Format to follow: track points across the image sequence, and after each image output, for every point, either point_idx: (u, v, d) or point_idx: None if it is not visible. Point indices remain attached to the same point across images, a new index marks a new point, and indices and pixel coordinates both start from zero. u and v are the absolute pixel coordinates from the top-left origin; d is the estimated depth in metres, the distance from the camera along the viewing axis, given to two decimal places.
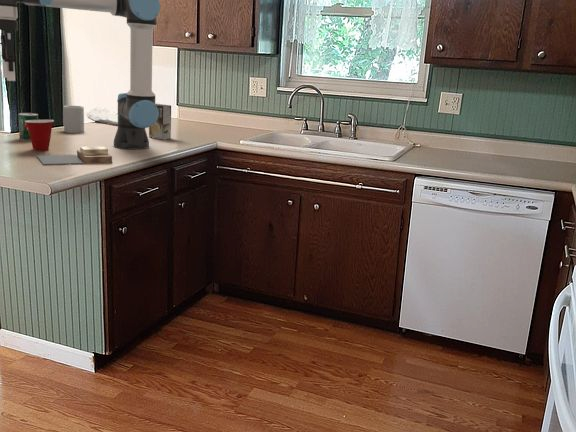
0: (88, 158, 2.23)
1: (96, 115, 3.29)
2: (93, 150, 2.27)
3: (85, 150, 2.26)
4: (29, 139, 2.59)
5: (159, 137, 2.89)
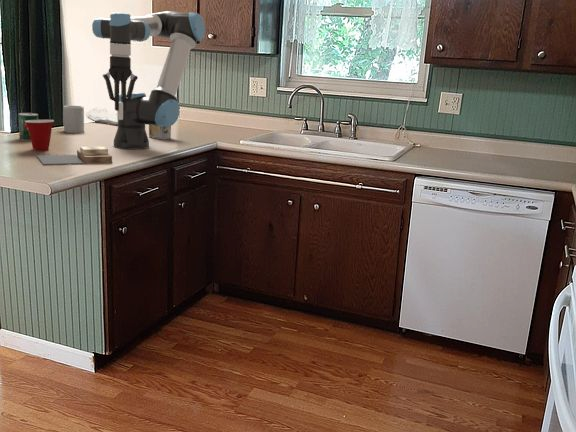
0: (88, 158, 2.23)
1: (96, 115, 3.28)
2: (93, 150, 2.27)
3: (85, 150, 2.26)
4: (29, 139, 2.59)
5: (159, 137, 2.89)
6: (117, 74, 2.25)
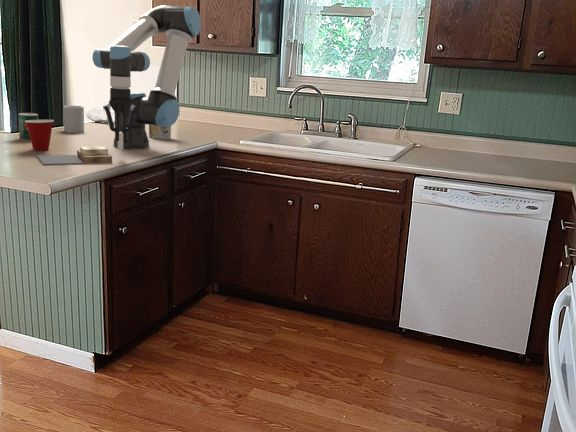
0: (88, 158, 2.23)
1: (96, 115, 3.28)
2: (93, 150, 2.27)
3: (85, 150, 2.26)
4: (29, 139, 2.59)
5: (159, 137, 2.89)
6: (117, 106, 2.28)
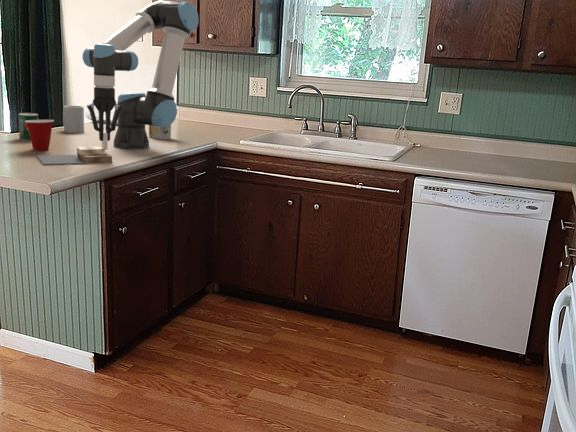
0: (88, 158, 2.23)
1: (95, 115, 3.28)
2: (90, 150, 2.26)
3: (82, 150, 2.25)
4: (29, 139, 2.59)
5: (159, 137, 2.89)
6: (101, 105, 2.25)
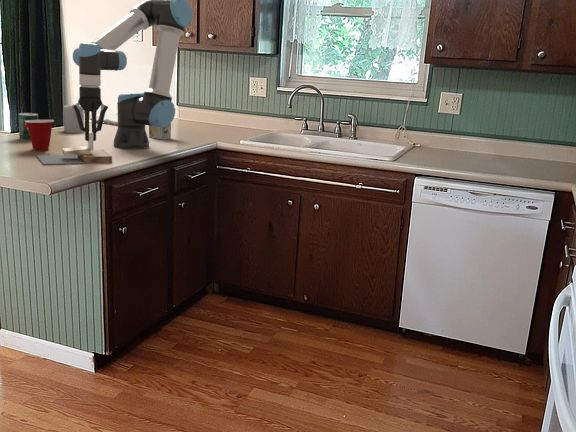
0: (88, 158, 2.23)
1: None
2: (75, 150, 2.24)
3: (67, 152, 2.22)
4: (29, 139, 2.59)
5: (159, 137, 2.89)
6: (87, 105, 2.22)
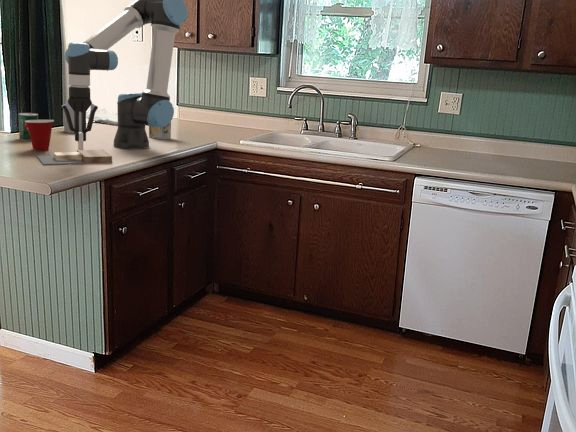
0: (88, 158, 2.23)
1: (95, 115, 3.28)
2: (66, 155, 2.23)
3: (58, 156, 2.21)
4: (29, 139, 2.59)
5: (159, 137, 2.89)
6: (76, 105, 2.21)
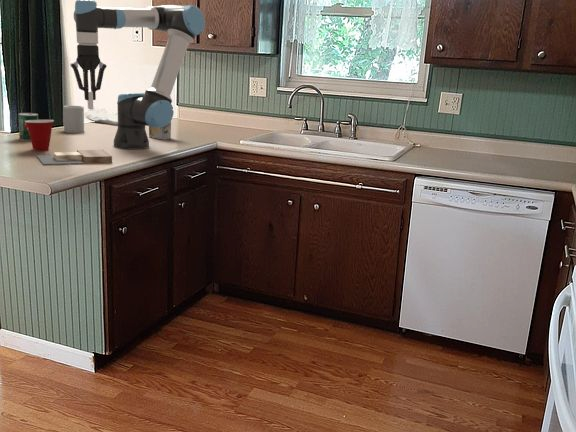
0: (88, 158, 2.23)
1: (95, 115, 3.28)
2: (66, 155, 2.23)
3: (58, 156, 2.21)
4: (29, 139, 2.59)
5: (159, 137, 2.89)
6: (85, 63, 2.21)
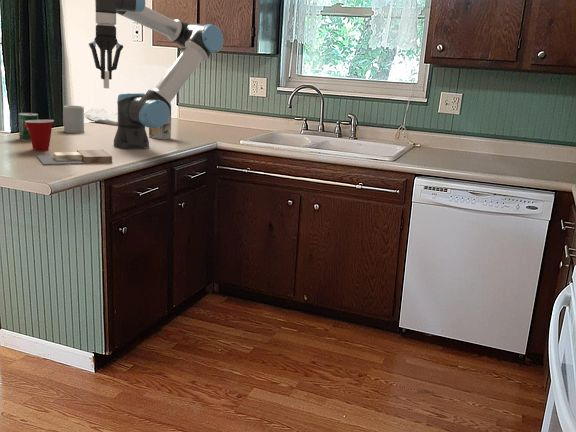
0: (88, 158, 2.23)
1: (95, 115, 3.27)
2: (66, 155, 2.23)
3: (58, 156, 2.21)
4: (29, 139, 2.59)
5: (159, 137, 2.89)
6: (103, 43, 2.28)
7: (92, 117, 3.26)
